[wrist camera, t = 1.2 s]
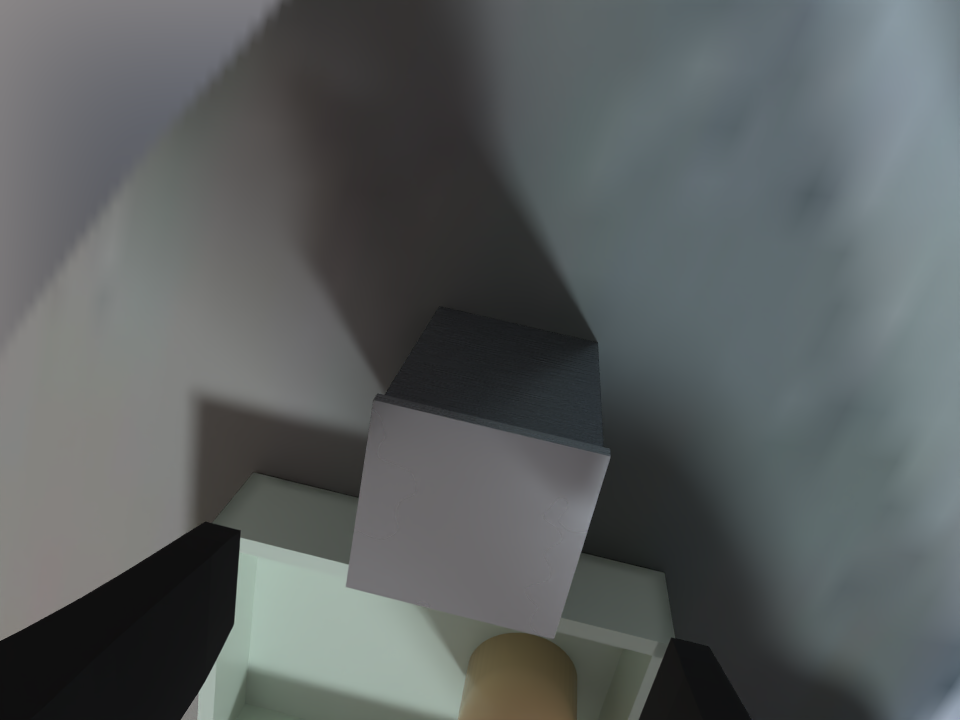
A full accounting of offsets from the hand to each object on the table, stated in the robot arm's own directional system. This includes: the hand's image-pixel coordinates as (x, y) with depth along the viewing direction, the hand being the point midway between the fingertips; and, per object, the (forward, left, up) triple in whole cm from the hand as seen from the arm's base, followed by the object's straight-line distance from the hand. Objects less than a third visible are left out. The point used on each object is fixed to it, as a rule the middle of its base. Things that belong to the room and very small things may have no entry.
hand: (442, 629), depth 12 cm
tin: (0, 0, -9) cm, 9 cm away
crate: (0, +10, -9) cm, 13 cm away
